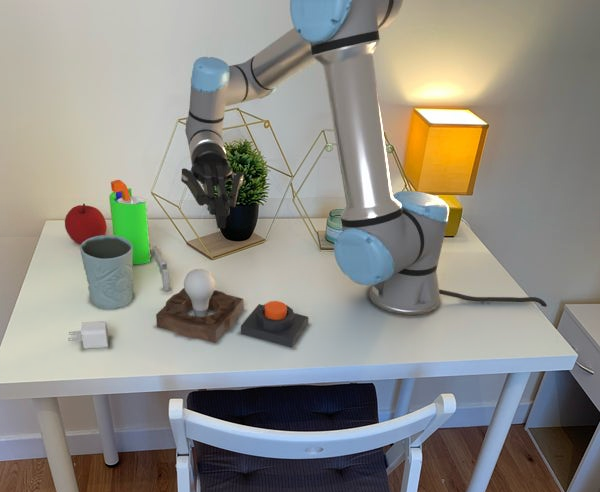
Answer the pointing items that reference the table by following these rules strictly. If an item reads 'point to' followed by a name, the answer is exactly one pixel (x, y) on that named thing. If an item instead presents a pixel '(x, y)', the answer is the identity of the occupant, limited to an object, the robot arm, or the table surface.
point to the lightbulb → (199, 290)
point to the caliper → (162, 268)
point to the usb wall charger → (92, 335)
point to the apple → (84, 223)
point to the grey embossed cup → (108, 270)
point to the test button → (275, 310)
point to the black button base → (275, 327)
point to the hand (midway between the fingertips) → (222, 222)
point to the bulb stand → (200, 327)
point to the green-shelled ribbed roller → (130, 220)
